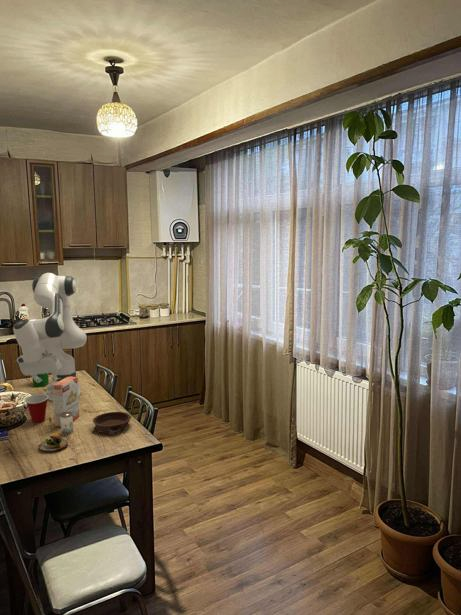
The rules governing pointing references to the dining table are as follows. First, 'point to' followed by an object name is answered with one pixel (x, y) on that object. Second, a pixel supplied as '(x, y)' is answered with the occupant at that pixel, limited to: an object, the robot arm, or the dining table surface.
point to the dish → (112, 422)
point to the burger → (54, 443)
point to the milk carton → (43, 380)
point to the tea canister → (66, 423)
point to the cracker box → (65, 398)
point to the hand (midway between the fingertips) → (47, 381)
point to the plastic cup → (37, 407)
